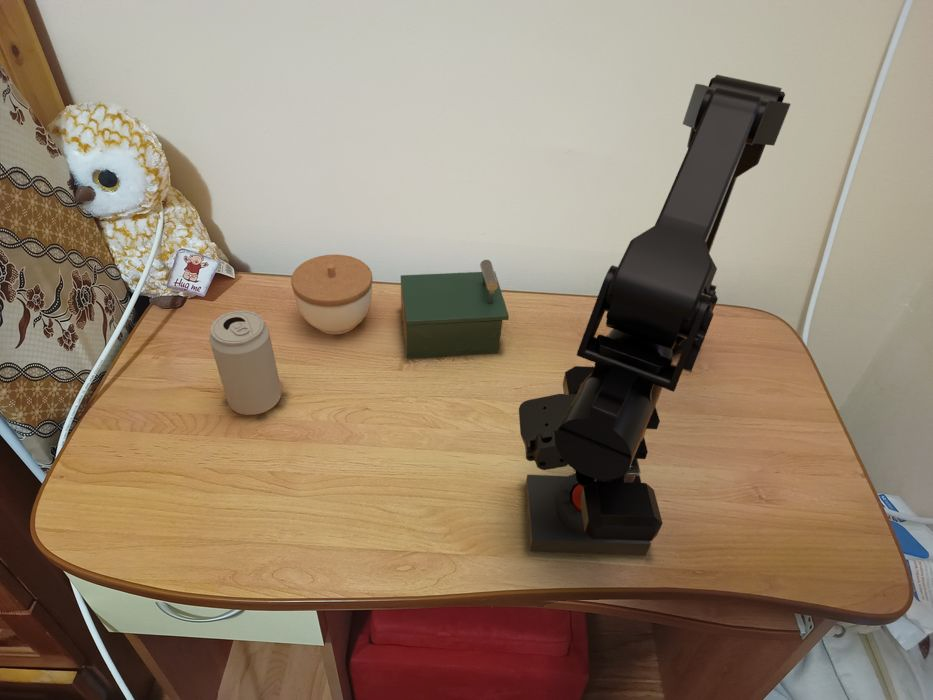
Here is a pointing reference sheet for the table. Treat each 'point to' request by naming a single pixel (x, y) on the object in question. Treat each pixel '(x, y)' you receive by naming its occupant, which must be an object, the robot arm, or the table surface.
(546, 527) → the panel
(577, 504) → the button
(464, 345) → the green box
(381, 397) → the table surface
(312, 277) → the trinket box
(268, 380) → the beverage can
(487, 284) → the lid
